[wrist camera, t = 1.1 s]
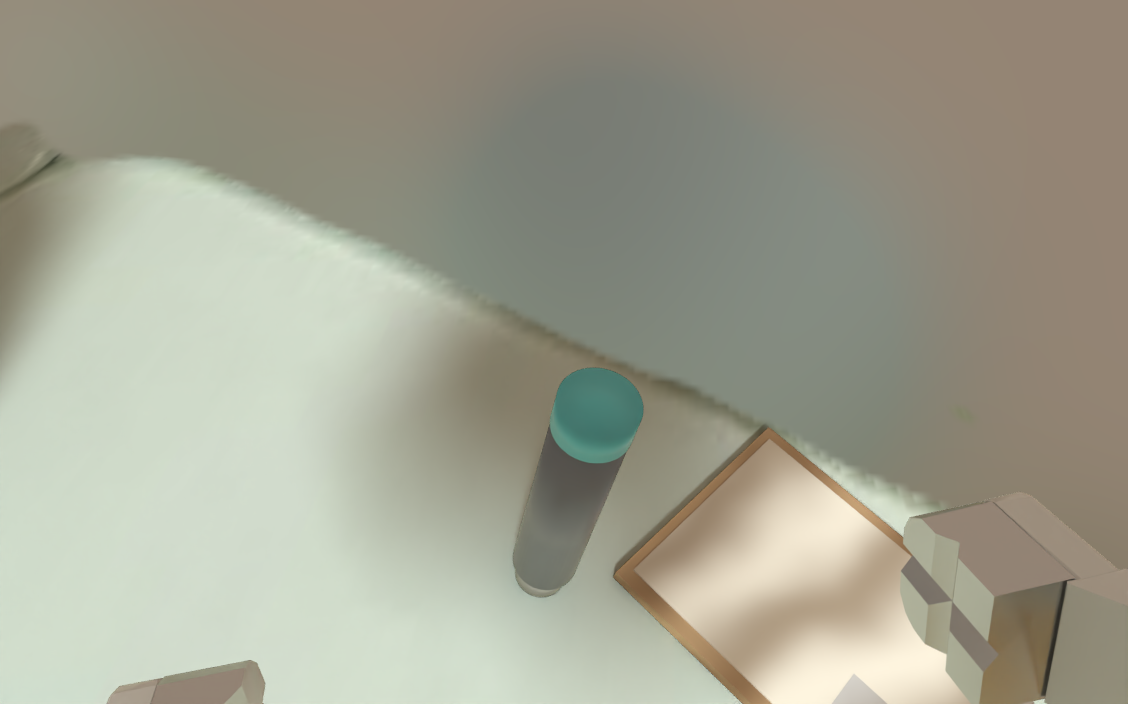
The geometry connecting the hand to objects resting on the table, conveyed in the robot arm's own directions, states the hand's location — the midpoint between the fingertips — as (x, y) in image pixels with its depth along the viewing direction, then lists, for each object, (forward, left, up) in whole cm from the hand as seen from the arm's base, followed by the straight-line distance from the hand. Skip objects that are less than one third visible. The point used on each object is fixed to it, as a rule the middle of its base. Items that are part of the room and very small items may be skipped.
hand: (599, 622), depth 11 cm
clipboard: (+4, +21, -28) cm, 35 cm away
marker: (-7, +12, -28) cm, 31 cm away
